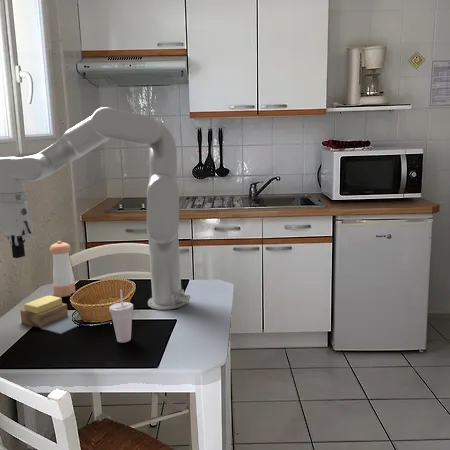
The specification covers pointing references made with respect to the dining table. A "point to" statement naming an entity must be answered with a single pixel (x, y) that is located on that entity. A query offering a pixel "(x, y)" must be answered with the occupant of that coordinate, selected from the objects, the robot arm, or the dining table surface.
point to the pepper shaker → (62, 270)
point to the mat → (61, 325)
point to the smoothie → (122, 319)
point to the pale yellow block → (43, 304)
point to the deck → (44, 316)
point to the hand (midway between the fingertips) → (19, 256)
